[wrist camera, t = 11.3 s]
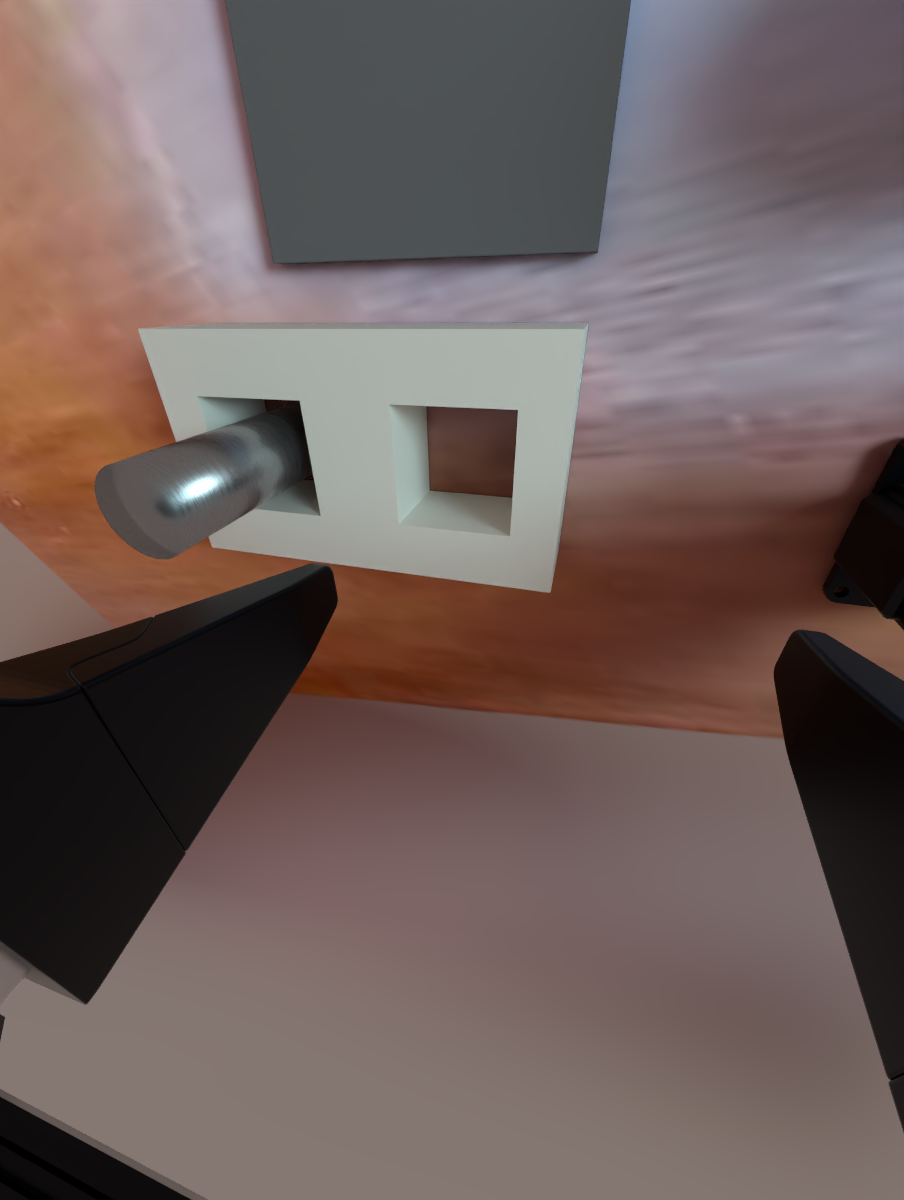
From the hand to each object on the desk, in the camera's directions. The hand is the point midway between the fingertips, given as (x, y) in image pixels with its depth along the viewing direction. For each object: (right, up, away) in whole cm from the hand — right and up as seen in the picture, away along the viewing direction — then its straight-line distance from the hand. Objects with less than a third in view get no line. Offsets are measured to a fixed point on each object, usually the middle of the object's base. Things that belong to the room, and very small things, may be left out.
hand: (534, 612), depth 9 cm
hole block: (-4, +8, +11) cm, 14 cm away
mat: (-3, +16, +5) cm, 17 cm away
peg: (-8, +8, +12) cm, 17 cm away
